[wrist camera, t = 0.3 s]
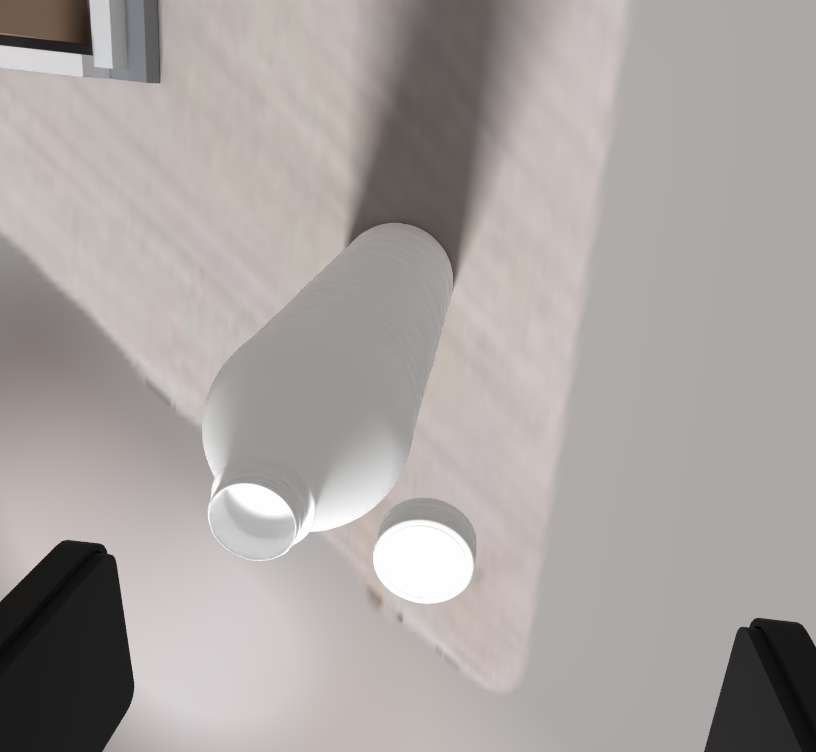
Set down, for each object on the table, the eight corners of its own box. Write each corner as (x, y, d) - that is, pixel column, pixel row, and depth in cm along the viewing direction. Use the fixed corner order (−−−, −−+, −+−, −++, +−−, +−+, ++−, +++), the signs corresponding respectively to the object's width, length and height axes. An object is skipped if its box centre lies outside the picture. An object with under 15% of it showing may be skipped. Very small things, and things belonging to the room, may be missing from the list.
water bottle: (335, 321, 41) (121, 603, 18) (349, 211, 39) (120, 377, 16) (480, 349, 41) (449, 676, 18) (503, 240, 38) (503, 454, 15)
